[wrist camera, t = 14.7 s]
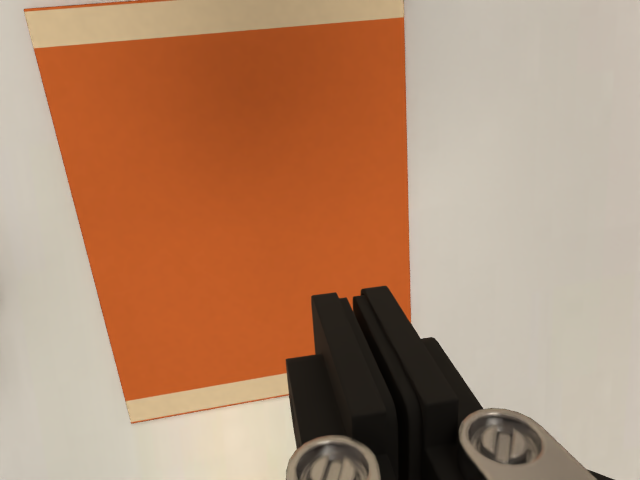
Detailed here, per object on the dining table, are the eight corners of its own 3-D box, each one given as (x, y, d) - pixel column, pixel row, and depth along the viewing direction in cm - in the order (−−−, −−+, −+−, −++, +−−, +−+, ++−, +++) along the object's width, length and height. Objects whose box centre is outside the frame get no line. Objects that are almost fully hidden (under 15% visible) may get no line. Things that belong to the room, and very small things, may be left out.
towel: (25, 9, 27) (22, 8, 27) (401, -19, 30) (403, -20, 29) (132, 420, 36) (131, 423, 36) (410, 370, 39) (412, 373, 39)
